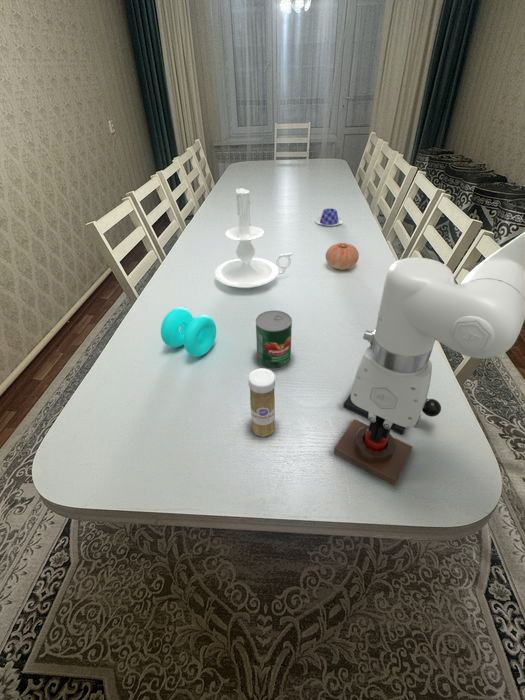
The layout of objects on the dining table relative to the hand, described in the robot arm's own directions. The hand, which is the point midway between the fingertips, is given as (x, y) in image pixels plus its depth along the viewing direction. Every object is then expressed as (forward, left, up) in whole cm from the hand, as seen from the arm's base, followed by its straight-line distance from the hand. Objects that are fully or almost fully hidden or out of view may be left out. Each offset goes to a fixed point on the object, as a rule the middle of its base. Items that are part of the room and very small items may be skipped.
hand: (377, 435), depth 60 cm
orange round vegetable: (+38, -65, -5) cm, 75 cm away
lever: (0, -12, +1) cm, 12 cm away
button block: (0, 0, -5) cm, 5 cm away
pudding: (+62, -102, -5) cm, 119 cm away
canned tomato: (+29, -12, -5) cm, 32 cm away
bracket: (+3, -12, -5) cm, 13 cm away
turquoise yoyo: (+48, -4, -5) cm, 49 cm away
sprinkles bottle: (+19, +6, -5) cm, 21 cm away
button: (0, 0, -2) cm, 2 cm away
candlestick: (+57, -41, -5) cm, 70 cm away
